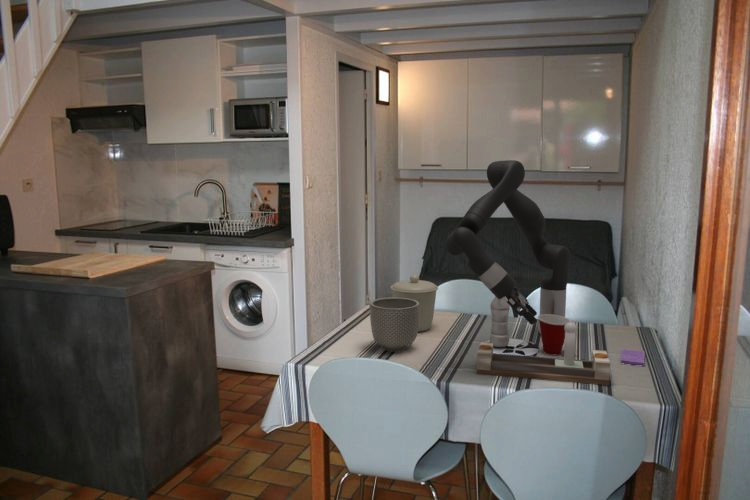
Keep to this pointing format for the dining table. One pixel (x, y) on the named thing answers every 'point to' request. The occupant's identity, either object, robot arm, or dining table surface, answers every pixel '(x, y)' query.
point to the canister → (418, 298)
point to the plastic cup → (552, 332)
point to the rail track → (542, 366)
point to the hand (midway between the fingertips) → (534, 319)
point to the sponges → (632, 357)
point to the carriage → (569, 348)
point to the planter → (394, 322)
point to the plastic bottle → (499, 322)
